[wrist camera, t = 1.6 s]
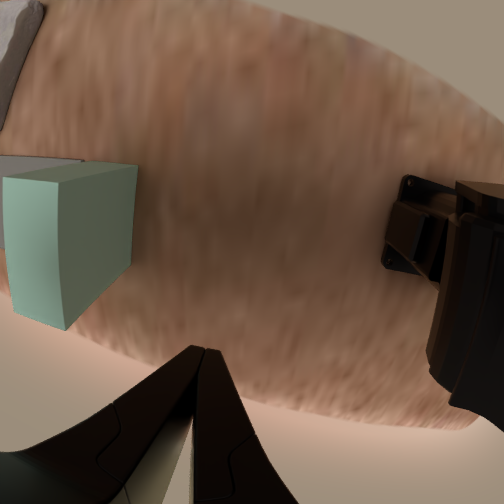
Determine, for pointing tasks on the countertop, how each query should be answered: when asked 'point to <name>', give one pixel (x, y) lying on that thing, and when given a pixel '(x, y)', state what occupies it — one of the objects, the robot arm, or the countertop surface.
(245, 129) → the countertop surface
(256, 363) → the countertop surface
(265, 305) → the countertop surface
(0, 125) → the stone block
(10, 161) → the mat
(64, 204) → the slab
